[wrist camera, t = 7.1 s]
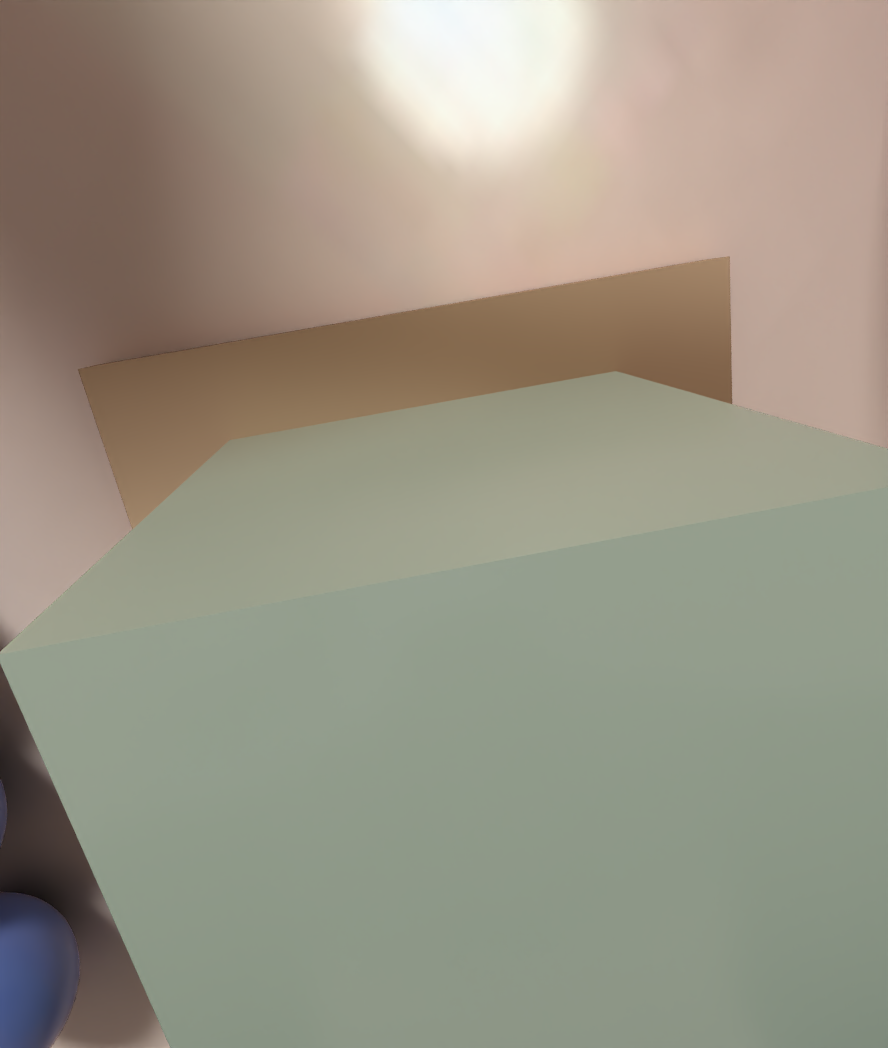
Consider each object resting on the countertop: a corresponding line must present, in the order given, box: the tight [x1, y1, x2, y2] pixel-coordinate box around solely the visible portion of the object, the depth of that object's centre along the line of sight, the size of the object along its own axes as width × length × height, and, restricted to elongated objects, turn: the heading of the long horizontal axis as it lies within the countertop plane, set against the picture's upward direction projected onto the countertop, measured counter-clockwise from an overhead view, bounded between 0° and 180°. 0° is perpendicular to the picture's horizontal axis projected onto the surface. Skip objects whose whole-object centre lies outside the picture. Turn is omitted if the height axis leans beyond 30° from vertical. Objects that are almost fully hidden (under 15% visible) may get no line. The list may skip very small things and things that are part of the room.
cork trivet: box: [78, 257, 732, 530], centre depth 12 cm, size 16×9×1 cm, turn 9°
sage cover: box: [0, 371, 888, 1048], centre depth 9 cm, size 13×6×6 cm, turn 9°
